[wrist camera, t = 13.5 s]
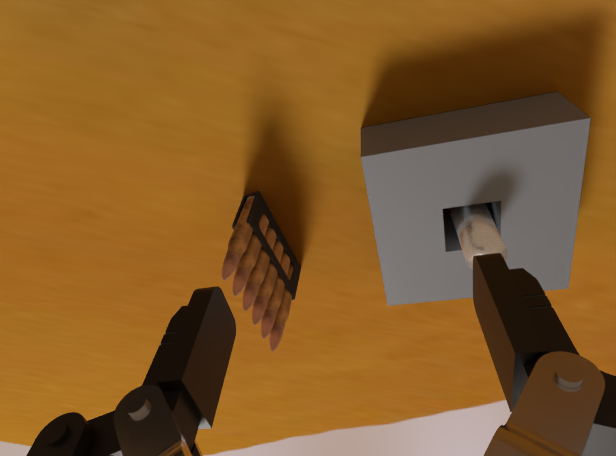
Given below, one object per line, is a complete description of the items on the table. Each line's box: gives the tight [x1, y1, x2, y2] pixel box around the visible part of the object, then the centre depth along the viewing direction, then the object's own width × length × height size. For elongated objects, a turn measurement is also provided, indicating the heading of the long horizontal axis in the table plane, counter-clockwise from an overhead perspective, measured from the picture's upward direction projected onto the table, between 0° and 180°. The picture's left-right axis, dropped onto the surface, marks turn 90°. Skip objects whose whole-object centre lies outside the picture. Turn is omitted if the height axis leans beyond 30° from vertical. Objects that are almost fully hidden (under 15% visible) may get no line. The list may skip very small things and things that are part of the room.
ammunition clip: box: [222, 192, 301, 351], centre depth 41 cm, size 11×2×12 cm, turn 23°
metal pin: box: [449, 203, 508, 269], centre depth 36 cm, size 3×3×10 cm
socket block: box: [361, 92, 591, 305], centre depth 38 cm, size 16×16×6 cm
